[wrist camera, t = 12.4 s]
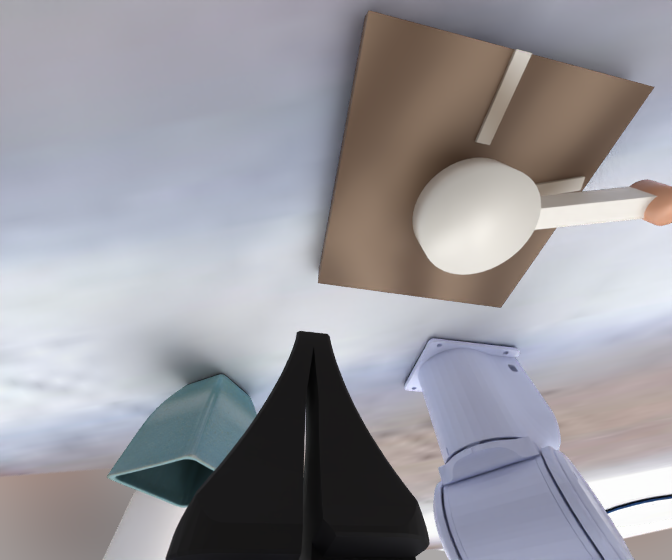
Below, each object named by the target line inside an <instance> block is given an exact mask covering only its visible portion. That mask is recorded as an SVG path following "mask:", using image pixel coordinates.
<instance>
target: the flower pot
mask: <svg viewBox="0 0 672 560" xmlns="http://www.w3.org/2000/svg"><path fill="white" fill-rule="evenodd" d="M256 416H257V414H256V411H255V408H254V405H253V403H252V401H251V398H250V397H249V395H247V394H246V393H245V392H244V391H243V390H241V389H240V388H239V387H238V386H237V385H236V384H234V383H233V382H232V381H231V380H230V379H229V378H228V377H227V376H225V375H223V374H219V375H216V376H213V377H210V378H207V379H204V380H201V381H198V382H195V383H192V384H189V385H186V386H185V387H183V388H182V389H180V390H179V391H177V392H176V393H174V394H173V395H172V396H170V397H169V398H168V399H167V400H166V401H164V402H163V403H162V404H161V405H160V406H159V407H158V408H157V409H156V410H155V411H154V412H153V413H152V414H151V415H150V416H149V418H148V419H147V420H146V421H145V423H144V424H143V425H142V427H141V428H140V429H139V431H138V432H137V434H136V435H135V437H134V438H133V439H132V441H131V442H130V444H129V445H128V447H127V448H126V449H125V451H124V452H123V454H122V455H121V457H120V458H119V459H118V461H117V462H116V464H115V465H114V467H113V468H112V470H111V471H110V473H109V474H108V476H107V478H109V479H111V480H113V481H115V482H118V483H120V484H123V485H125V486H128V487H130V488H133V489H135V490H137V491H140V492H142V493H145V494H147V495H150V496H153V497H155V498H158V499H160V500H163V501H165V502H167V503H170V504H172V505H175V506H178V507H181V508H186V507H188V505H189V503H190V502H191V500H192V498H193V497H194V495H195V494H196V492H197V490H198V489H199V488H200V487H201V486H202V484H203V483H204V482H205V481H206V480H207V479H208V477H209V476H210V475H211V474H212V473H213V472H214V470H215V469H216V468H217V467H218V466H219V465H220V463H221V462H222V461H223V460H224V459H225V457H226V456H227V455H228V453H229V452H230V451H231V450H232V448H233V447H234V446H235V445H236V443H237V442H238V441H239V439H240V438H241V437H242V435H243V434H244V433H245V431H246V430H247V429H248V427H249V426H250V424H251V423H252V421H253V420H254V419H255V417H256Z"/></svg>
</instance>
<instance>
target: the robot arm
mask: <svg viewBox="0 0 672 560" xmlns="http://www.w3.org/2000/svg"><path fill="white" fill-rule="evenodd" d="M519 354H520V351H519V349H518V348H513V347H504V346H496V345H487V344H478V343H470V342H461V341H452V340H444V339H431V340H429V341H428V343H427V345H426V347H425V349H424V350H423V352H422V354H421V356H420V358H419V360H418V361H417V363H416V365H415V367H414V369H413V370H412V372H411V374H410V376H409V378H408V380H407V381H406V383H405V385H404V386H405V389H406V390H409V391H420V392H423V395H424V398H425V401H426V405H427V408H428V411H429V414H430V418H431V421H432V424H433V427H434V430H435V434H436V437H437V440H438V443H439V447H440V450H441V453H442V456H443V460H444V463H445V465H443V466H441V467H439V468H438V469H439V473H440V476H441V480H442V481H440V482H439V483H438V484H437V485H436V488H435V493H434V501H433V508H434V517H435V522H436V527H437V531H438V534H439V537H440V540H441V543H442V546H443V548H444V551H445V553H446V555H447V557H448V559H449V560H635V559H634V558H633V556H632V555H631V553H630V551H629V549H628V547H627V546H626V543H625V542H624V540H623V538H622V536H621V535H620V533H619V531H618V530H617V528H616V526H615V525H614V523H613V522H612V520H611V518H610V517H609V515H608V514H607V512H606V511H605V509H604V508H603V506H602V505H601V503H600V501H599V500H598V498H597V497H596V496H595V494H594V493H593V491H592V490H591V488H590V487H589V485H588V484H587V482H586V481H585V480H584V478H583V477H582V475H581V474H580V473H579V471H578V470H577V468H576V467H575V466H574V464H573V463H572V462H571V461H570V459H569V458H568V457H567V456H566V455H565V454H564V453H563V452H560V451H559V448H560V442H561V438H560V431H559V426H558V423H557V420H556V418H555V416H554V414H553V412H552V410H551V409H550V407H549V406H548V404H547V403H546V401H545V400H544V398H543V397H542V395H541V394H540V392H539V391H538V390H537V388H536V387H535V385H534V384H533V382H532V381H531V379H530V378H529V376H528V375H527V374H526V372H525V371H524V369H523V368H522V366H521V365H520V363H519V362H518V360H517V359H516V358H517V356H518V355H519ZM305 410H306V452H305V465H304V436H305ZM303 475H304V478H303ZM428 545H429V537H428V532H427V528H426V525H425V521H424V518H423V515H422V512H421V510H420V507H419V504H418V502H417V500H416V499H415V497H414V496H413V495H412V493H411V492H410V491H409V490H408V488H407V487H406V486H405V484H404V483H403V482H402V480H401V479H400V478H399V476H398V475H397V474H396V472H395V471H394V469H393V468H392V467H391V465H390V464H389V462H388V461H387V459H386V458H385V457H384V455H383V453H382V452H381V450H380V449H379V447H378V446H377V444H376V442H375V441H374V439H373V438H372V436H371V435H370V433H369V431H368V429H367V428H366V426H365V424H364V422H363V421H362V419H361V417H360V415H359V413H358V411H357V409H356V407H355V405H354V403H353V401H352V399H351V397H350V395H349V393H348V390H347V388H346V386H345V383H344V381H343V378H342V376H341V373H340V371H339V368H338V365H337V362H336V359H335V356H334V353H333V349H332V346H331V341H330V336H329V335H328V334H323V333H314V332H305V331H299V332H297V335H296V340H295V343H294V346H293V349H292V352H291V354H290V357H289V359H288V361H287V363H286V365H285V368H284V370H283V372H282V374H281V376H280V377H279V379H278V381H277V383H276V385H275V387H274V388H273V390H272V392H271V394H270V395H269V397H268V399H267V400H266V402H265V403H264V405H263V407H262V408H261V410H260V411H259V413H258V414H257V416H256V417H255V419H254V420H253V421H252V423H251V424H250V426H249V427H248V429H247V430H246V431H245V433H244V434H243V435H242V437H241V438H240V439H239V441H238V442H237V443H236V445H235V446H234V447H233V448H232V450H231V451H230V452H229V453H228V455H227V456H226V457H225V459H224V460H223V461H222V462H221V463H220V465H219V466H218V467H217V468H216V469H215V470H214V472H213V473H212V474H211V475H210V476H209V477H208V479H207V480H206V481H205V482H204V483H203V484H202V486H201V487H200V488H199V489H198V490H197V492H196V494H195V495H194V497H193V498H192V500H191V502H190V503H189V505H188V507H187V508H186V510H185V512H184V514H183V516H182V517H181V519H180V521H179V523H178V525H177V528H176V530H175V532H174V535H173V537H172V540H171V543H170V546H169V549H168V552H167V555H166V558H165V559H166V560H416V558H415V557H416V556H417V555H418V554H420V553H421V552H422V551H424V550H425V549H426V548H427V547H428Z"/></svg>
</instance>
